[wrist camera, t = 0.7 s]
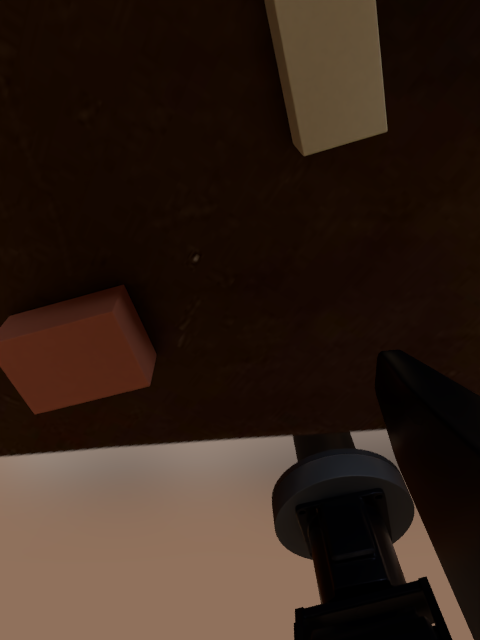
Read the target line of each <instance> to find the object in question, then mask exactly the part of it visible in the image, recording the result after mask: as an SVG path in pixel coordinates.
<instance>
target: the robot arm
mask: <svg viewBox="0 0 480 640" xmlns="http://www.w3.org/2000/svg"><path fill="white" fill-rule="evenodd" d="M375 391H376V395H377V399H378V402H379V405H380V409H381V412H382V415H383V419H384V422H385V425H386V429H387V432H388V435H389V438H390V441H391V445H392V449H393V452H394V455H395V458H396V461H397V463H398V466H399V468H400V471H401V473H402V475H403V478H404V480H405V482H406V485H407V487H408V489H409V492H410V494H411V496H412V498H413V501H414V503H415V505H416V508H417V510H418V512H419V514H420V517H421V519H422V521H423V524H424V526H425V528H426V531H427V533H428V535H429V537H430V540H431V542H432V544H433V546H434V549H435V551H436V553H437V556H438V558H439V560H440V563H441V565H442V567H443V569H444V572H445V574H446V576H447V578H448V581H449V583H450V585H451V588H452V590H453V592H454V595H455V597H456V599H457V602H458V604H459V606H460V608H461V611H462V613H463V615H464V618H465V620H466V622H467V624H468V627H469V629H470V631H471V633H472V636H473V638H474V640H480V396H479V395H477V394H475V393H473V392H472V391H470V390H468V389H467V388H465V387H463V386H461V385H460V384H458V383H456V382H455V381H453V380H451V379H449V378H448V377H446V376H444V375H443V374H441V373H439V372H438V371H436V370H434V369H432V368H431V367H429V366H427V365H426V364H424V363H422V362H420V361H419V360H417V359H415V358H414V357H412V356H410V355H408V354H407V353H405V352H403V351H401V350H389V351H381V352H380V353H379V354H378V357H377V367H376V378H375ZM295 512H296V516H297V519H298V522H299V525H300V528H301V531H302V534H303V536H304V539H305V542H306V545H307V548H308V551H309V554H310V556H311V557H312V558H313V562H314V568H315V573H316V578H317V583H318V589H319V594H320V600H321V604H320V605H316V606H312V607H308V608H303V607H302V608H298V609H295V623H294V640H452V638H451V635H450V633H449V631H448V628H447V626H446V623H445V621H444V618H443V616H442V613H441V611H440V608H439V606H438V604H437V601H436V599H435V596H434V594H433V591H432V589H431V586H430V584H429V582H428V579H427V577H422V578H419V580H417V581H414V582H410V583H406V581H405V578H404V575H403V572H402V570H401V567H400V564H399V561H398V558H397V555H396V553H395V550H394V547H393V544H392V534H391V527H390V521H389V515H388V508H387V502H386V496H385V493H384V491H383V489H381V488H374V489H369V490H364V491H360V492H355V493H350V494H345V495H340V496H336V497H331V498H326V499H321V500H316V501H312V502H307V503H302V504H298V505H297V506H296V507H295ZM433 623H435V626H432V624H433Z"/></svg>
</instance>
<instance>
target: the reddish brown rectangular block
mask: <svg viewBox="0 0 480 640" xmlns="http://www.w3.org/2000/svg"><path fill="white" fill-rule="evenodd" d="M156 356H157V354H156V352H155V350H154V348H153V345H152V343H151V341H150V339H149V337H148V335H147V333H146V331H145V328H144V326H143V324H142V322H141V320H140V318H139V316H138V313H137V311H136V309H135V307H134V305H133V303H132V301H131V299H130V296H129V294H128V292H127V290H126V288H125V286H124V285H120V286H116V287H113V288H109V289H106V290H102V291H98V292H95V293H91V294H88V295H84V296H80V297H77V298H73V299H69V300H66V301H62V302H59V303H55V304H51V305H48V306H44V307H40V308H37V309H33V310H30V311H26V312H22V313H19V314H15V315H11V316H9V317H8V318H7V320H6V321H5V322H4V323H3V325H2V326H1V327H0V367H1V368H2V370H3V371H4V373H5V374H6V375H7V377H8V378H9V380H10V381H11V382H12V384H13V385H14V386H15V388H16V389H17V391H18V392H19V393H20V395H21V396H22V398H23V399H24V400H25V402H26V403H27V405H28V406H29V407H30V409H31V410H32V412H33V413H34V414H39V413H43V412H47V411H51V410H55V409H59V408H63V407H67V406H72V405H76V404H80V403H84V402H88V401H92V400H96V399H100V398H104V397H108V396H112V395H116V394H120V393H124V392H128V391H132V390H136V389H140V388H144V387H148V386H150V384H151V379H152V374H153V370H154V365H155V361H156Z"/></svg>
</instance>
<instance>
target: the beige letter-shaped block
mask: <svg viewBox="0 0 480 640" xmlns="http://www.w3.org/2000/svg"><path fill="white" fill-rule="evenodd" d="M264 1H265V6H266V11H267V16H268V21H269V26H270V31H271V36H272V41H273V46H274V51H275V56H276V61H277V66H278V71H279V76H280V81H281V86H282V91H283V96H284V101H285V106H286V111H287V116H288V121H289V126H290V131H291V136H292V141H293V144H294V145H295V147H296V148H297V149H298V150H299V151H300V152H301V154H302V155H303V156H307V155H310V154H314V153H317V152H321V151H324V150H327V149H331V148H334V147H337V146H341V145H344V144H348V143H351V142H354V141H358V140H361V139H365V138H368V137H371V136H375V135H378V134H381V133H385V132H387V119H386V108H385V97H384V86H383V75H382V64H381V53H380V42H379V31H378V20H377V10H376V0H264Z"/></svg>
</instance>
